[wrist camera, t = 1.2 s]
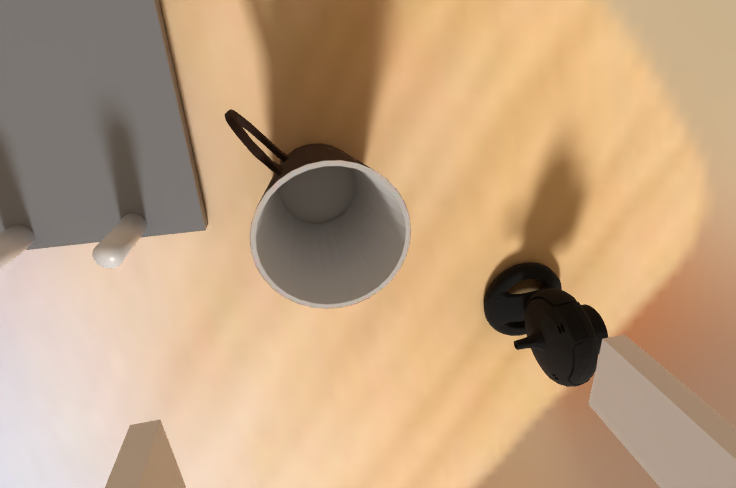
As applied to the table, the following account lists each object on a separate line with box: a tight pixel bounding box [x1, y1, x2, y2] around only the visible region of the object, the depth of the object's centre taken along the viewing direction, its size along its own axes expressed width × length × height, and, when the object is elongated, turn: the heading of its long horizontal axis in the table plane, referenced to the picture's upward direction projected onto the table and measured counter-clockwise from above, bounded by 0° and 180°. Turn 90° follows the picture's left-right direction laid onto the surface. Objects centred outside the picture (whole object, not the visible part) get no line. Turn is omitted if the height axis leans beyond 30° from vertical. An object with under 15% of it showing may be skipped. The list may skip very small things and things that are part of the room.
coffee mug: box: [225, 110, 411, 309], centre depth 27 cm, size 12×9×10 cm
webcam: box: [484, 263, 608, 387], centre depth 35 cm, size 8×8×10 cm
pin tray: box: [0, 0, 208, 270], centre depth 24 cm, size 16×17×6 cm
